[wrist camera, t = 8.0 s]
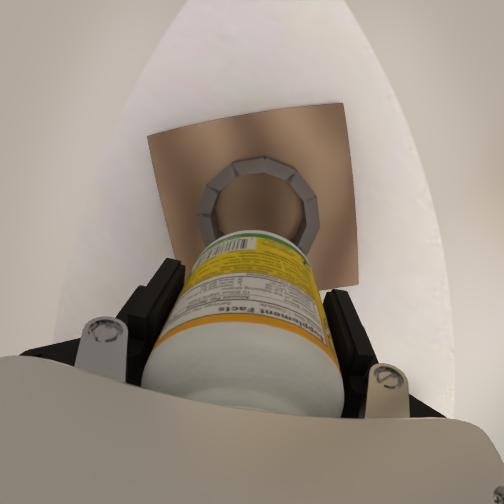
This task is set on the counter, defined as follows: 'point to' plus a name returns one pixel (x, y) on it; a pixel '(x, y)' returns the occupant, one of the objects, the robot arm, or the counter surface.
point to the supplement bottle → (249, 332)
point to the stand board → (263, 185)
